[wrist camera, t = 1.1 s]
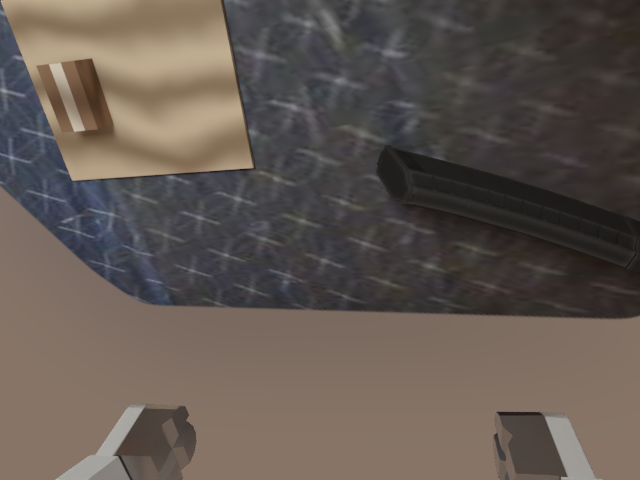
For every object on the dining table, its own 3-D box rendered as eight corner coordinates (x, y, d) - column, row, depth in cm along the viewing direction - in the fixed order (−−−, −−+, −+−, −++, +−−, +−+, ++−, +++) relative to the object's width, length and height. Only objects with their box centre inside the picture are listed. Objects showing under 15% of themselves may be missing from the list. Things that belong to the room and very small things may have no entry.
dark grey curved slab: (348, 190, 40) (700, 339, 32) (358, 158, 39) (730, 306, 31) (396, 155, 54) (648, 252, 47) (404, 131, 53) (667, 227, 45)
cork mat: (5, 1, 45) (0, 0, 45) (216, -34, 41) (214, -35, 40) (75, 179, 54) (72, 180, 54) (254, 166, 50) (253, 168, 49)
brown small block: (55, 62, 47) (35, 65, 44) (91, 58, 46) (73, 60, 43) (79, 126, 50) (61, 132, 47) (113, 123, 49) (97, 129, 47)
